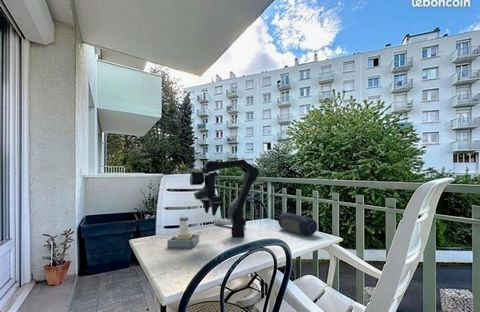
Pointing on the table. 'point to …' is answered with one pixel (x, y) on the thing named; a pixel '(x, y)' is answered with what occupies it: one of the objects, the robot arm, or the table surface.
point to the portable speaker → (297, 224)
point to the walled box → (183, 241)
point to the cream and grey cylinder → (183, 226)
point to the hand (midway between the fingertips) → (210, 214)
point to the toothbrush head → (224, 222)
